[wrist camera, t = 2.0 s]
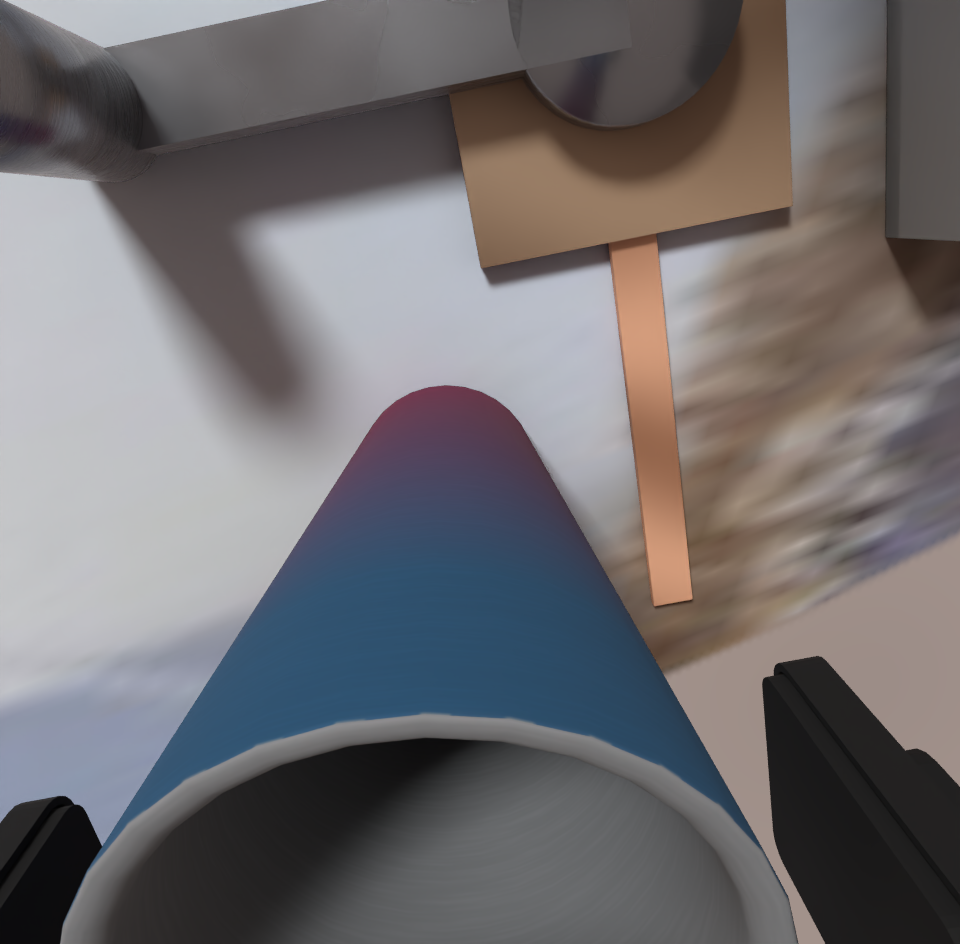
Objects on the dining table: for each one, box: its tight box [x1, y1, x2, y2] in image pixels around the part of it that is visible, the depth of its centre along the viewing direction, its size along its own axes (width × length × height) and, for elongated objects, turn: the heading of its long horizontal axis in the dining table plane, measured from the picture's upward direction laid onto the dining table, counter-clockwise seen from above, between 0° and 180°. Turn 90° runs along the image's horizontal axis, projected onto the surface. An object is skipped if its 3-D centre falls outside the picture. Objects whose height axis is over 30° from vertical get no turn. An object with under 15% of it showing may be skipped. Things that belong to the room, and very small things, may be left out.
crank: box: [0, 0, 743, 182], centre depth 13 cm, size 16×5×7 cm, turn 101°
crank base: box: [449, 0, 793, 606], centre depth 18 cm, size 21×8×1 cm, turn 11°
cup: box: [60, 385, 798, 944], centre depth 14 cm, size 7×7×15 cm
